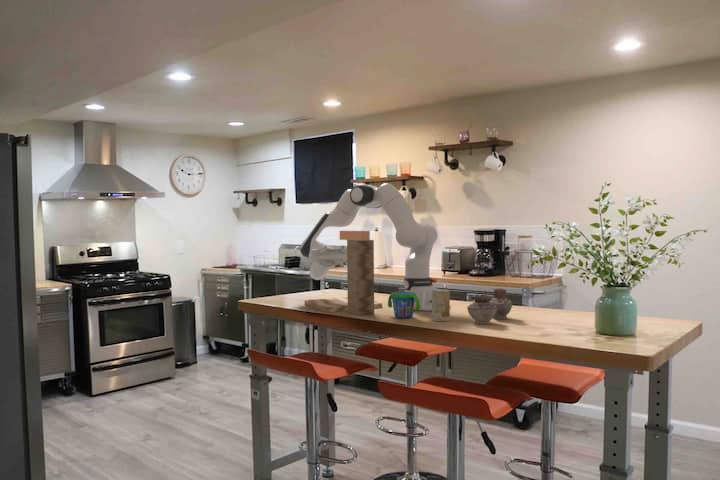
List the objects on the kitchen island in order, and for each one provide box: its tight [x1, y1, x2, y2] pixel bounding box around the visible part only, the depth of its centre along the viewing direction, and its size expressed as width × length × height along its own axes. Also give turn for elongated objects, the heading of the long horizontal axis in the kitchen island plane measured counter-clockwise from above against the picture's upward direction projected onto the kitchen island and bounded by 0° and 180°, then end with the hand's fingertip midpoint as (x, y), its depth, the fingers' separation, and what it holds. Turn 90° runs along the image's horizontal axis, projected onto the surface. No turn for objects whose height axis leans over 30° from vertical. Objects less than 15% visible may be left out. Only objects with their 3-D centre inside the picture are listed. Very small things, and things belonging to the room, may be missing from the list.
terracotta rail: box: [339, 230, 371, 241], centre depth 243 cm, size 4×22×4 cm, turn 26°
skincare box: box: [431, 289, 451, 322], centre depth 223 cm, size 6×4×12 cm
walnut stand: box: [346, 239, 375, 316], centre depth 243 cm, size 8×10×32 cm
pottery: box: [466, 288, 514, 325], centre depth 222 cm, size 11×25×12 cm, turn 139°
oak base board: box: [304, 296, 383, 313], centre depth 266 cm, size 28×28×2 cm
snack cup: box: [387, 291, 420, 319], centre depth 232 cm, size 16×10×10 cm
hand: (334, 247), depth 263 cm, fingers open, 8 cm apart
